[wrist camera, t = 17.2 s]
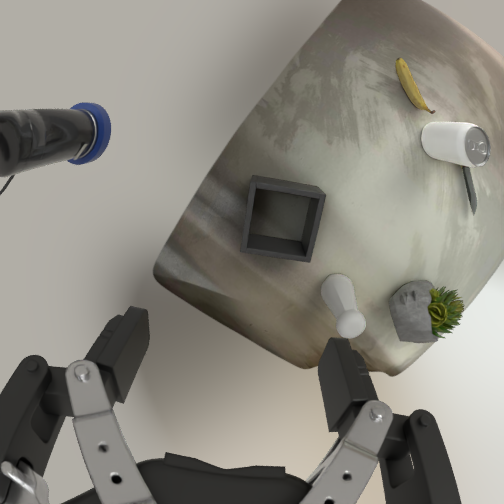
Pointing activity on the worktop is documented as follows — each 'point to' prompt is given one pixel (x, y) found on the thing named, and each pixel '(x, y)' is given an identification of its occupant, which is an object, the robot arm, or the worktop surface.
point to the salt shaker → (343, 305)
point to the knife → (470, 188)
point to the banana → (410, 85)
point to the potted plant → (424, 312)
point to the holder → (278, 245)
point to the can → (456, 143)
